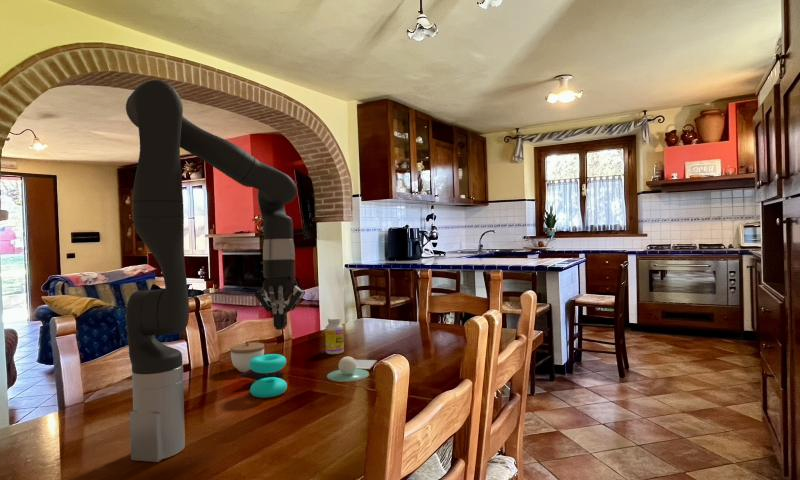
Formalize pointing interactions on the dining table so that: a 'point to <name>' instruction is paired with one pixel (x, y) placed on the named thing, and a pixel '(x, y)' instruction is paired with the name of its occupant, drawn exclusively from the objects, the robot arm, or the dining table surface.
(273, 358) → the donuts
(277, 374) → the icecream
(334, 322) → the supplement bottle
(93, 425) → the dining table surface
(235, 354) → the lidded jar
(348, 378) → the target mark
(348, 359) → the ball
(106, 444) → the dining table surface
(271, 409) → the dining table surface
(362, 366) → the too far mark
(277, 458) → the dining table surface
